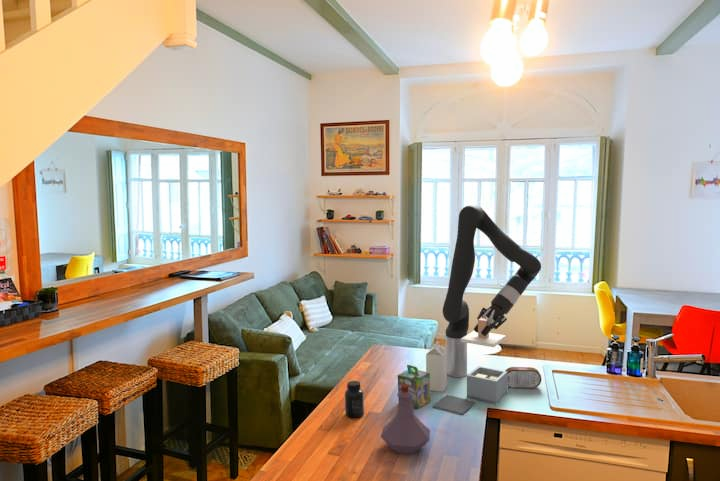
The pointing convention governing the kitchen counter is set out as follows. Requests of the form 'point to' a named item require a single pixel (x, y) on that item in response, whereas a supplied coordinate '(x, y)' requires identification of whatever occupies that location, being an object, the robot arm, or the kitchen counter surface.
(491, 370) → the box
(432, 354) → the milk carton
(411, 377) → the green handled carton
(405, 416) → the flask
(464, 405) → the mat
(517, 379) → the tin
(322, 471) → the kitchen counter surface
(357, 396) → the supplement bottle
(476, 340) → the lid
